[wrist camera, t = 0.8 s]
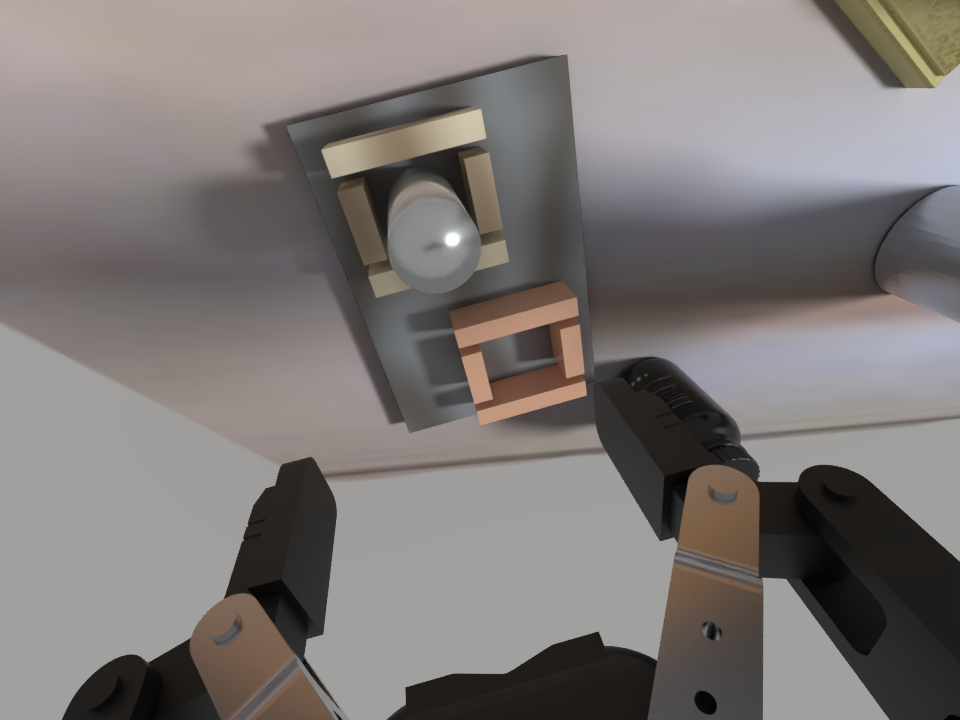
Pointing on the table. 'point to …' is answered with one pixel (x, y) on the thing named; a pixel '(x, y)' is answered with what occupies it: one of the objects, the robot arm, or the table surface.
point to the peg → (430, 232)
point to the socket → (511, 317)
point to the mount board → (487, 199)
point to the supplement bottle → (694, 411)
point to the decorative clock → (910, 36)
